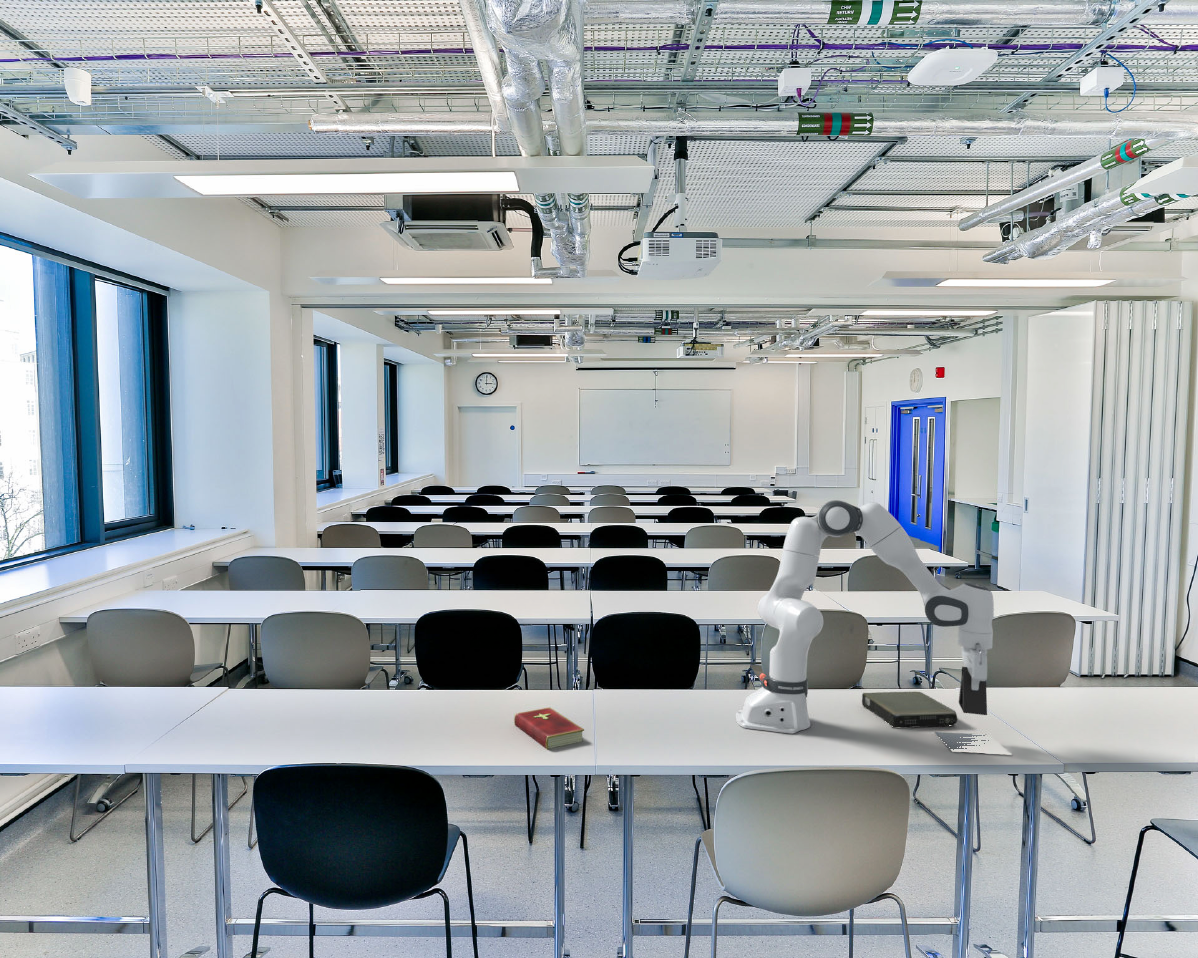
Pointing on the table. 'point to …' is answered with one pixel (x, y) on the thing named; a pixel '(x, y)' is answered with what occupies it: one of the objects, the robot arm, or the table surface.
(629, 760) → the table surface
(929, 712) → the network switch
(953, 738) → the rubber mat
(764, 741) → the table surface
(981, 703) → the black slotted holder
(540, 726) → the hardcover book
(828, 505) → the robot arm
